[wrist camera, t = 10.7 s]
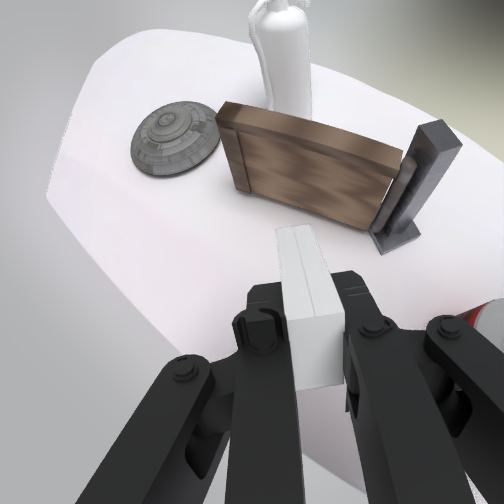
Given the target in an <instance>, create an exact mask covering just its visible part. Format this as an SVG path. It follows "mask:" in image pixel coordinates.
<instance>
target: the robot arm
mask: <svg viewBox="0 0 504 504" xmlns="http://www.w3.org/2000/svg"><path fill="white" fill-rule="evenodd" d="M275 230H276V238H277V247H278V256H279V265H280V274H281V282H275V283H268V284H260V285H254V286H253V287H252V289H251V290H250V291H249V292H248V294H247V307H246V310H243V311H241V312H240V313H239V314H238V315H237V316H236V317H234V320H233V322H232V327H233V330H234V334H235V338H236V342H237V346H238V351H237V352H235V353H234V354H232V355H231V356H229V357H227V358H225V359H222V360H219V361H216V362H212V363H209V361H208V360H206V359H205V358H204V357H203V356H199V355H195V354H192V355H183V356H180V357H176V358H175V359H173V360H171V361H170V362H168V363H167V364H166V366H165V367H164V368H163V369H162V370H161V372H160V373H159V375H158V376H157V378H156V379H155V381H154V383H153V384H152V386H151V387H150V389H149V390H148V392H147V393H146V395H145V396H144V398H143V399H142V401H141V402H140V404H139V405H138V407H137V408H136V410H135V412H134V413H133V415H132V416H131V418H130V419H129V421H128V422H127V424H126V425H125V427H124V428H123V430H122V431H121V433H120V435H119V436H118V438H117V439H116V441H115V442H114V444H113V445H112V447H111V448H110V450H109V452H108V453H107V455H106V456H105V458H104V459H103V461H102V462H101V464H100V465H99V467H98V469H97V470H96V472H95V473H94V475H93V476H92V478H91V480H90V481H89V483H88V484H87V486H86V488H85V489H84V490H83V492H82V494H81V495H80V497H79V498H78V500H77V502H76V503H75V504H203V502H204V499H205V497H206V494H207V492H208V489H209V487H210V485H211V482H212V480H213V478H214V475H215V473H216V470H217V468H218V465H219V463H220V461H221V458H222V455H223V453H224V451H225V448H226V446H227V443H228V441H229V438H230V447H229V458H228V469H227V480H226V492H225V504H306V502H305V489H304V477H303V464H302V452H301V441H300V430H299V419H298V408H297V399H296V391H300V390H307V389H314V388H321V387H327V386H334V385H340V384H344V376H345V380H346V383H347V393H346V410H345V412H349V410H350V415H351V419H352V423H353V428H354V432H355V437H356V442H357V446H358V451H359V456H360V461H361V466H362V471H363V476H364V481H365V486H366V491H367V497H368V502H369V504H476V503H475V500H474V497H473V494H472V491H471V488H470V485H469V483H468V480H467V477H466V474H467V475H468V476H469V478H470V479H471V480H472V482H473V483H474V485H475V486H476V487H477V489H478V490H479V492H480V493H481V494H482V496H483V497H484V499H485V500H486V501H487V503H488V504H504V353H503V352H502V351H501V350H499V349H498V348H497V347H496V346H495V345H494V344H493V343H491V342H490V341H489V340H488V339H487V338H486V337H484V336H483V335H482V334H481V333H480V332H478V331H477V330H476V329H475V328H474V327H472V326H471V325H470V324H469V323H468V322H466V321H465V320H463V319H461V318H460V317H456V316H452V315H441V316H438V317H435V318H433V319H432V320H431V321H429V323H428V325H427V327H426V330H404V329H400V328H398V326H397V325H396V323H395V322H394V321H393V320H392V319H390V318H388V317H386V316H383V315H382V314H381V312H380V310H379V308H378V306H377V305H376V303H375V301H374V299H373V297H372V295H371V293H369V290H368V288H367V286H366V284H365V282H364V280H363V279H362V277H361V276H360V275H358V274H357V273H355V272H354V271H352V270H351V271H345V272H338V273H331V274H330V272H329V270H328V267H327V265H326V262H325V260H324V257H323V255H322V252H321V250H320V247H319V245H318V243H317V240H316V238H315V235H314V233H313V231H312V228H311V226H310V224H306V225H299V226H292V227H285V228H278V229H275ZM464 471H465V472H466V474H465V472H464Z"/></svg>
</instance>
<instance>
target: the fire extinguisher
mask: <svg viewBox="0 0 504 504" xmlns="http://www.w3.org/2000/svg"><path fill="white" fill-rule="evenodd" d="M296 2H297V4H299V5H301V6H304V7H308V6H309V5H310V3H311V0H296ZM265 4H267V7H265V8H263V9H261V10H260V8H261V7H262V6H263V5H265ZM256 13H257V14H256ZM255 15H256V17H255ZM248 18H249V35H250V38H251V40H252V43H253V45H254V47H255V50H256V52H257V54H258V57H259V61H260V66H261V72H262V77H263V82H264V88H265V93H266V99H267V104H268V109H267V110H271V111H275V112H280V113H284V114H288V115H292V116H296V117H300V118H303V119H307V120H311V121H312V93H311V66H310V48H309V47H310V46H309V30H308V18H307V16H306V15H305V13H304V12H303V11H302V10H301V9H299V8H298V7H296V6H291V5H289V2H288V0H259V1H258V2H257V4H256V5H255V6H254V8H253V9H252V10H251V12H250V13H249V15H248Z"/></svg>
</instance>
